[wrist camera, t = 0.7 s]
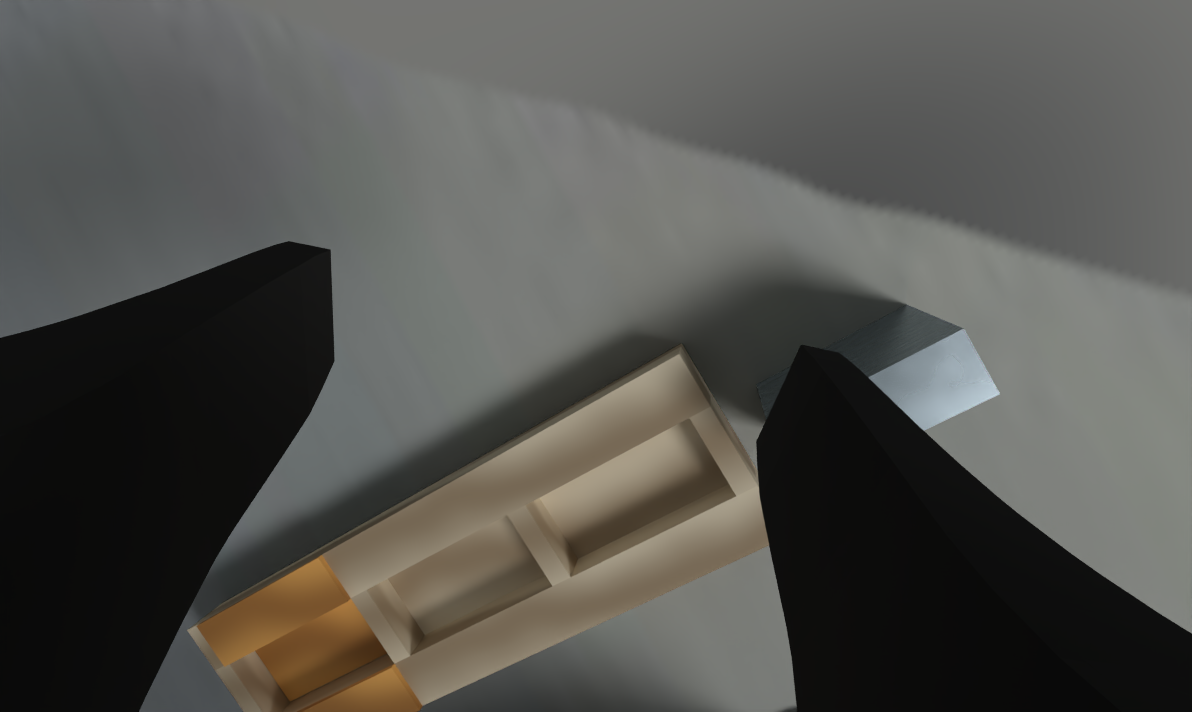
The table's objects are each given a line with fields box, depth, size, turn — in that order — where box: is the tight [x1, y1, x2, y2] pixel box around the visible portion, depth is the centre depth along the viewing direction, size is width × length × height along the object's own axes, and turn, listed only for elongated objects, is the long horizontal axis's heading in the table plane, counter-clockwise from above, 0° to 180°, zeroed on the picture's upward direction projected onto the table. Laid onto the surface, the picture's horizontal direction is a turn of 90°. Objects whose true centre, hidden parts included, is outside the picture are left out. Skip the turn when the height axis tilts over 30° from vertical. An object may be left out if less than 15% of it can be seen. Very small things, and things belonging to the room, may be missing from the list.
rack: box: [187, 343, 769, 712], centre depth 32 cm, size 9×29×3 cm, turn 122°
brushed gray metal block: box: [756, 305, 1000, 431], centre depth 26 cm, size 2×7×6 cm, turn 122°
